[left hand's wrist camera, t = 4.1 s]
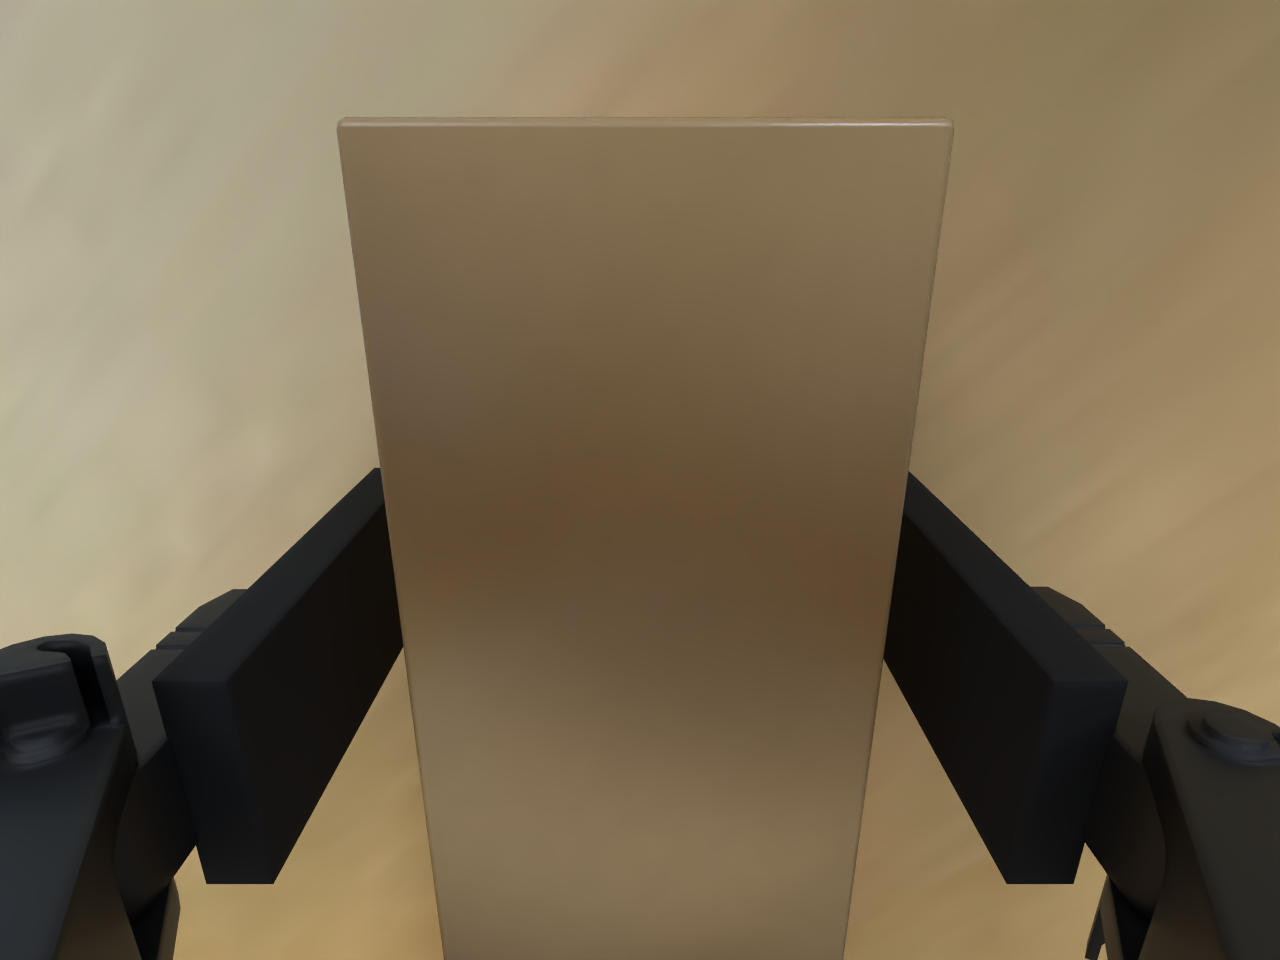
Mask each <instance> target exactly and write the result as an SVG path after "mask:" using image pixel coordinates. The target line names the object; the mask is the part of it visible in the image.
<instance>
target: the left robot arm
mask: <svg viewBox="0 0 1280 960" xmlns="http://www.w3.org/2000/svg"><path fill="white" fill-rule="evenodd" d="M1124 643H1125V642H1124V641H1122V640H1121V639H1120V638H1119V637H1118V636H1117V635H1116V634H1115V633H1113V632H1112V631H1111V630H1110V629H1105V625H1104V624H1103V623H1102V622H1101V621H1100V620H1099V619H1098V618H1096V617H1095V616H1094V615H1093V614H1092V613H1091V612H1090V611H1088V610H1087V609H1086V608H1085V607H1084V606H1083V605H1082V604H1080V603H1078V602H1076V601H1074V600H1072V599H1070V598H1068V597H1066V596H1064V595H1063V594H1061V593H1059V592H1057V591H1055V590H1053V589H1051V588H1049V587H1030V586H1028V585H1027V584H1026V583H1025V582H1024V581H1023V580H1022V579H1021V578H1020V577H1019V576H1018V575H1017V574H1016V573H1015V572H1014V571H1013V570H1012V569H1011V568H1010V567H1009V566H1008V565H1007V564H1005V563H1004V562H1003V561H1002V560H1001V559H1000V558H999V557H998V556H997V555H996V554H995V553H994V552H993V551H992V550H991V549H990V548H989V547H988V546H987V545H986V544H985V543H984V542H982V541H981V540H980V539H979V538H978V537H977V536H976V535H975V534H974V533H973V532H972V531H971V530H970V529H969V528H968V527H967V526H966V525H965V524H964V523H963V522H962V521H961V520H959V519H958V518H957V517H956V516H955V515H954V514H953V513H952V512H951V511H950V510H949V509H948V508H947V507H946V506H945V505H944V504H943V503H942V502H941V501H940V500H939V499H938V498H936V497H935V496H934V495H933V494H932V493H931V492H930V491H929V490H928V489H927V488H926V487H925V486H924V485H923V484H922V483H921V482H920V481H919V480H918V479H917V478H916V477H915V476H913V475H912V474H911V473H910V472H909V471H908V477H907V485H906V492H905V500H904V507H903V515H902V522H901V530H900V537H899V544H898V552H897V559H896V567H895V574H894V582H893V589H892V597H891V604H890V612H889V619H888V627H887V634H886V641H885V649H884V656H883V659H884V661H885V662H886V664H887V666H888V668H889V670H890V672H891V673H892V675H893V677H894V679H895V681H896V683H897V684H898V686H899V688H900V690H901V692H902V694H903V695H904V697H905V699H906V701H907V703H908V704H909V706H910V708H911V710H912V712H913V714H914V715H915V717H916V719H917V721H918V723H919V725H920V726H921V728H922V730H923V732H924V734H925V736H926V737H927V739H928V741H929V743H930V745H931V746H932V748H933V750H934V752H935V754H936V756H937V757H938V759H939V761H940V763H941V765H942V767H943V768H944V770H945V772H946V774H947V776H948V778H949V779H950V781H951V783H952V785H953V787H954V789H955V790H956V792H957V794H958V796H959V798H960V799H961V801H962V803H963V805H964V807H965V809H966V810H967V812H968V814H969V816H970V818H971V820H972V821H973V823H974V825H975V827H976V829H977V831H978V832H979V834H980V836H981V838H982V840H983V841H984V843H985V845H986V847H987V849H988V851H989V852H990V854H991V856H992V858H993V860H994V862H995V863H996V865H997V867H998V869H999V871H1000V873H1001V874H1002V876H1003V878H1004V880H1005V882H1006V883H1007V884H1074V880H1075V876H1076V873H1077V869H1078V865H1079V862H1080V858H1081V854H1082V851H1083V847H1084V843H1086V844H1087V846H1088V847H1089V849H1090V850H1091V851H1092V853H1093V854H1094V856H1095V857H1096V859H1097V860H1098V861H1099V863H1100V864H1101V866H1102V867H1103V868H1104V870H1105V871H1106V873H1107V877H1106V880H1105V883H1104V887H1103V890H1102V894H1101V897H1100V901H1099V904H1098V907H1097V911H1096V914H1095V918H1094V921H1093V925H1092V928H1091V931H1090V935H1089V938H1088V942H1087V948H1086V955H1085V958H1087V959H1090V960H1097V959H1098V955H1099V952H1100V949H1101V946H1102V945H1103V944H1104V943H1105V945H1106V952H1107V959H1108V960H1280V727H1278V726H1277V725H1276V724H1274V723H1272V722H1269V721H1267V720H1265V719H1263V718H1261V717H1258V716H1256V715H1254V714H1252V713H1250V712H1248V711H1245V710H1242V709H1239V708H1235V707H1232V706H1229V705H1225V704H1222V703H1218V702H1215V701H1207V700H1199V699H1191V698H1187V697H1186V696H1185V695H1184V694H1182V693H1181V692H1180V691H1179V690H1178V689H1177V688H1176V687H1174V686H1173V685H1172V684H1171V683H1170V682H1169V681H1168V680H1167V679H1165V678H1164V677H1163V676H1162V675H1161V674H1160V673H1159V672H1157V671H1156V670H1155V669H1154V668H1153V667H1152V666H1151V665H1150V664H1148V663H1147V662H1146V661H1145V660H1144V659H1143V658H1142V657H1141V656H1139V655H1138V654H1137V653H1136V652H1135V651H1134V650H1133V649H1131V648H1130V647H1125V645H1124ZM402 648H403V638H402V631H401V623H400V615H399V607H398V600H397V592H396V584H395V576H394V569H393V561H392V553H391V546H390V538H389V530H388V522H387V515H386V507H385V499H384V491H383V484H382V476H381V468H374V469H373V470H372V471H371V472H370V473H369V474H368V475H367V476H366V477H364V478H363V479H362V480H361V481H360V482H359V483H358V484H357V485H356V486H355V487H354V488H353V489H352V490H351V491H350V492H349V493H348V494H347V495H346V496H345V497H344V498H343V499H341V500H340V501H339V502H338V503H337V504H336V505H335V506H334V507H333V508H332V509H331V510H330V511H329V512H328V513H327V514H326V515H325V516H324V517H323V518H322V519H321V520H319V521H318V522H317V523H316V524H315V525H314V526H313V527H312V528H311V529H310V530H309V531H308V532H307V533H306V534H305V535H304V536H303V537H302V538H301V539H300V540H299V541H298V542H296V543H295V544H294V545H293V546H292V547H291V548H290V549H289V550H288V551H287V552H286V553H285V554H284V555H283V556H282V557H281V558H280V559H279V560H278V561H277V562H276V563H275V564H273V565H272V566H271V567H270V568H269V569H268V570H267V571H266V572H265V573H264V574H263V575H262V576H261V577H260V578H259V579H258V580H257V581H256V582H255V583H254V584H253V585H252V586H250V587H249V588H248V589H232V590H231V591H229V592H227V593H225V594H223V595H221V596H219V597H217V598H215V599H213V600H211V601H209V602H208V603H206V604H204V605H202V606H200V607H198V608H197V609H196V610H195V611H194V612H193V613H192V614H191V615H189V616H188V617H187V618H186V619H185V620H184V621H183V622H182V623H180V624H179V625H178V626H177V627H176V631H175V632H170V633H169V634H168V635H167V636H166V637H165V638H164V639H163V640H161V641H160V642H159V643H158V644H157V645H156V650H150V651H149V652H148V653H147V654H146V655H145V656H143V657H142V658H141V659H140V660H139V661H138V662H137V663H136V664H134V665H133V666H132V667H131V668H130V669H129V670H128V671H127V672H125V673H124V674H123V675H122V676H121V677H120V678H119V679H118V680H117V681H116V678H115V675H114V671H113V668H112V664H111V661H110V657H109V654H108V651H107V647H106V644H105V642H103V641H101V640H100V639H98V638H96V637H95V636H91V635H81V634H64V635H55V636H46V637H41V638H37V639H33V640H29V641H25V642H21V643H17V644H13V645H10V646H8V647H5V648H3V649H0V960H173V954H174V948H175V941H176V934H177V928H178V921H179V914H180V902H179V895H178V890H177V887H176V883H175V880H174V875H175V874H176V873H177V871H178V870H179V868H180V867H181V865H182V864H183V863H184V861H185V860H186V858H187V857H188V855H189V854H190V853H191V851H192V850H193V848H194V847H195V846H196V847H197V851H198V854H199V858H200V862H201V865H202V869H203V873H204V876H205V880H206V884H274V882H275V880H276V878H277V876H278V874H279V873H280V871H281V869H282V867H283V865H284V863H285V862H286V860H287V858H288V856H289V854H290V852H291V851H292V849H293V847H294V845H295V843H296V841H297V840H298V838H299V836H300V834H301V832H302V831H303V829H304V827H305V825H306V823H307V821H308V820H309V818H310V816H311V814H312V812H313V810H314V809H315V807H316V805H317V803H318V801H319V799H320V798H321V796H322V794H323V792H324V790H325V789H326V787H327V785H328V783H329V781H330V779H331V778H332V776H333V774H334V772H335V770H336V768H337V767H338V765H339V763H340V761H341V759H342V757H343V756H344V754H345V752H346V750H347V748H348V747H349V745H350V743H351V741H352V739H353V737H354V736H355V734H356V732H357V730H358V728H359V726H360V725H361V723H362V721H363V719H364V717H365V715H366V714H367V712H368V710H369V708H370V706H371V704H372V703H373V701H374V699H375V697H376V695H377V694H378V692H379V690H380V688H381V686H382V684H383V683H384V681H385V679H386V677H387V675H388V673H389V672H390V670H391V668H392V666H393V664H394V662H395V661H396V659H397V657H398V655H399V653H400V652H401V650H402Z"/></svg>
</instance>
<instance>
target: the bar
mask: <svg viewBox="0 0 1280 960" xmlns="http://www.w3.org/2000/svg"><path fill="white" fill-rule="evenodd" d="M953 134H954V125H953V121H951V120H949V119H947V118H945V117H346V118H344V119H342V120H340V121H338V124H337V136H338V144H339V151H340V159H341V167H342V174H343V182H344V190H345V198H346V205H347V213H348V221H349V229H350V236H351V244H352V252H353V260H354V267H355V275H356V283H357V290H358V298H359V306H360V314H361V321H362V329H363V337H364V345H365V352H366V360H367V368H368V375H369V383H370V391H371V399H372V406H373V414H374V422H375V430H376V437H377V445H378V453H379V461H380V468H381V476H382V484H383V491H384V499H385V507H386V515H387V522H388V530H389V538H390V546H391V553H392V561H393V569H394V576H395V584H396V592H397V600H398V607H399V615H400V623H401V631H402V638H403V646H404V654H405V661H406V669H407V677H408V685H409V692H410V700H411V708H412V716H413V723H414V731H415V739H416V747H417V754H418V762H419V770H420V777H421V785H422V793H423V801H424V808H425V816H426V824H427V832H428V839H429V847H430V855H431V862H432V870H433V878H434V886H435V893H436V901H437V909H438V917H439V924H440V932H441V940H442V948H443V955H444V960H843V955H844V947H845V940H846V932H847V925H848V918H849V910H850V903H851V895H852V888H853V880H854V873H855V865H856V858H857V850H858V843H859V835H860V828H861V821H862V813H863V806H864V798H865V791H866V783H867V776H868V768H869V761H870V753H871V746H872V738H873V731H874V724H875V716H876V709H877V701H878V694H879V686H880V679H881V671H882V664H883V656H884V649H885V641H886V634H887V627H888V619H889V612H890V604H891V597H892V589H893V582H894V574H895V567H896V559H897V552H898V544H899V537H900V530H901V522H902V515H903V507H904V500H905V492H906V485H907V477H908V470H909V462H910V455H911V447H912V440H913V432H914V425H915V418H916V410H917V403H918V395H919V388H920V380H921V373H922V365H923V358H924V350H925V343H926V335H927V328H928V321H929V313H930V306H931V298H932V291H933V283H934V276H935V268H936V261H937V253H938V246H939V238H940V231H941V224H942V216H943V209H944V201H945V194H946V186H947V179H948V171H949V164H950V156H951V149H952V141H953Z"/></svg>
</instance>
